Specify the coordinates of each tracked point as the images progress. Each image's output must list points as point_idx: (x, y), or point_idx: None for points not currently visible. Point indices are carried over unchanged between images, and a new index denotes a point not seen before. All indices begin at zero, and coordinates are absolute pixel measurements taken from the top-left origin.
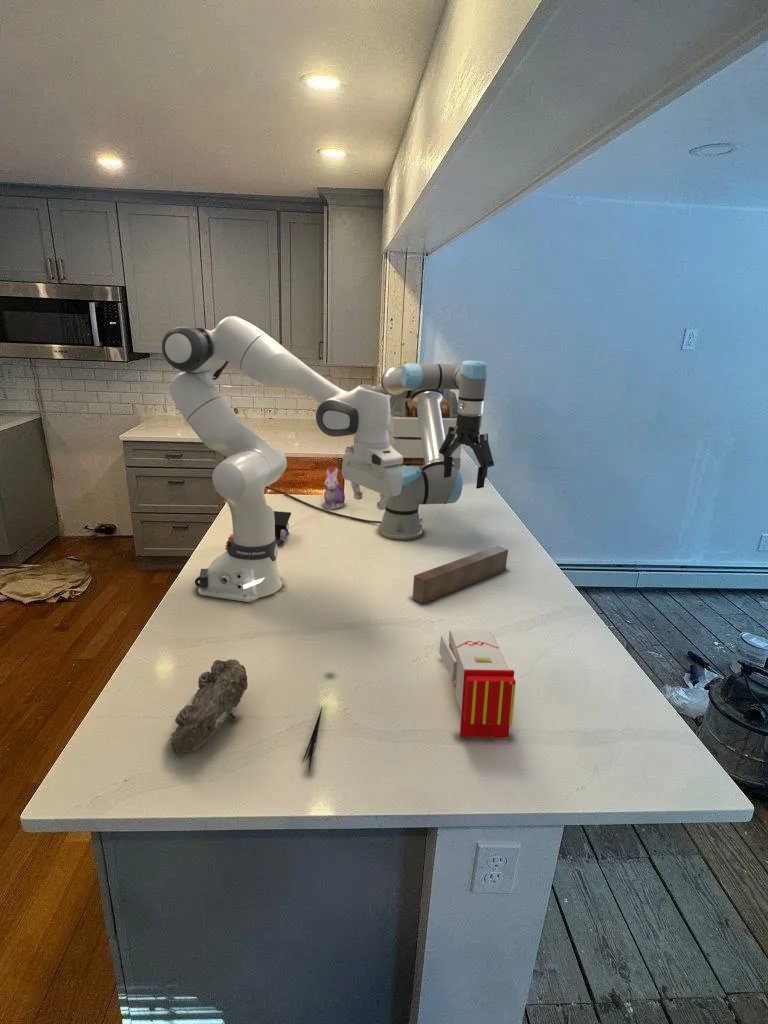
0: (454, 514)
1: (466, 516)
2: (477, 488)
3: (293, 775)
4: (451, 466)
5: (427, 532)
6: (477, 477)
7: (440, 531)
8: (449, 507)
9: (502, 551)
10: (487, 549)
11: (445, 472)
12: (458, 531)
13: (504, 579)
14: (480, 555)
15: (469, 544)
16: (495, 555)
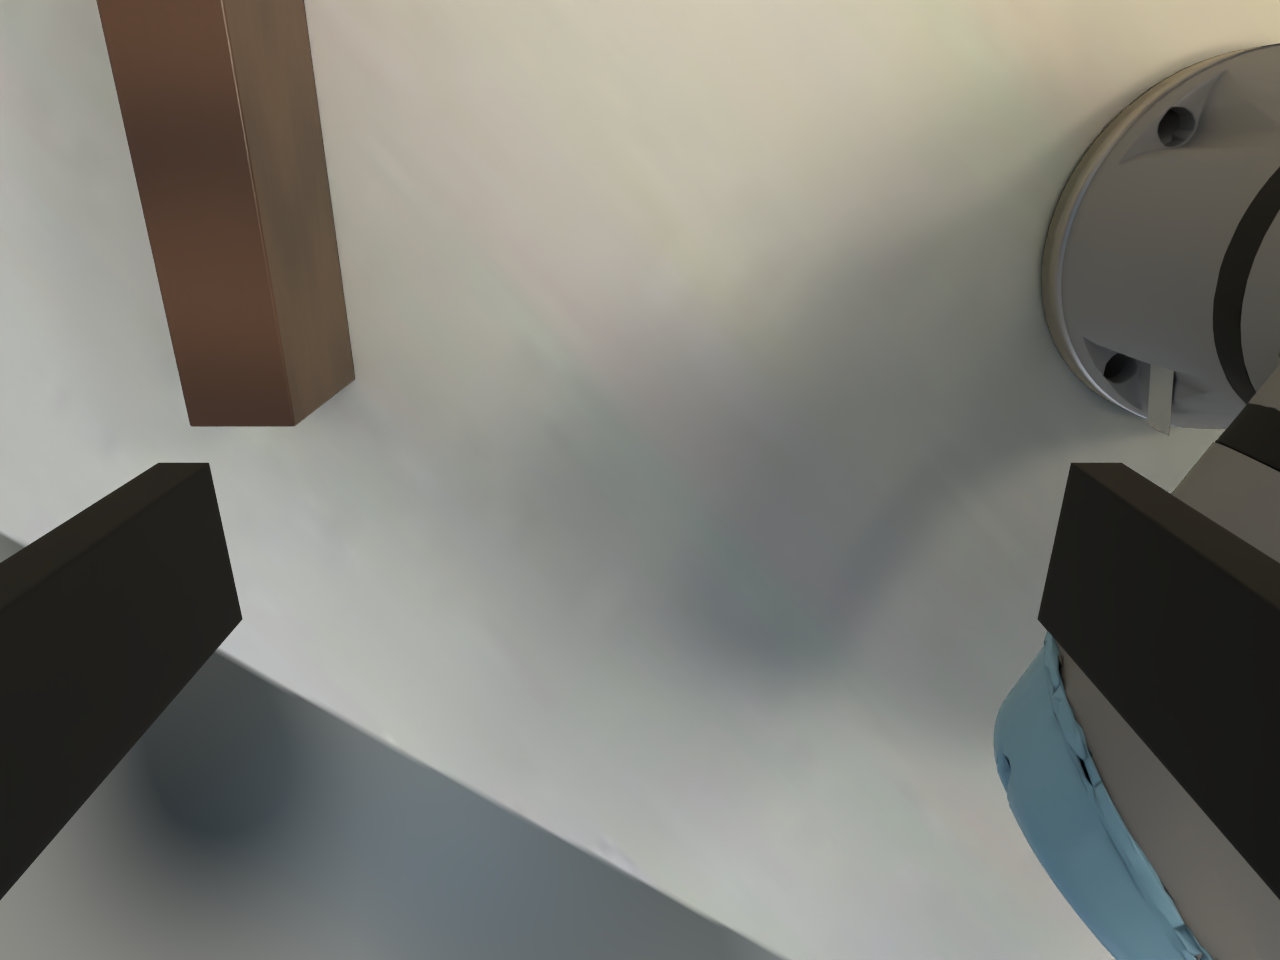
0: None
1: None
2: (175, 464)
3: None
4: (1168, 752)
5: (1054, 423)
6: (44, 569)
7: (995, 513)
8: None
9: (179, 357)
10: (265, 284)
11: (1146, 512)
12: (905, 609)
13: None
14: (185, 120)
15: (707, 505)
16: (157, 258)
